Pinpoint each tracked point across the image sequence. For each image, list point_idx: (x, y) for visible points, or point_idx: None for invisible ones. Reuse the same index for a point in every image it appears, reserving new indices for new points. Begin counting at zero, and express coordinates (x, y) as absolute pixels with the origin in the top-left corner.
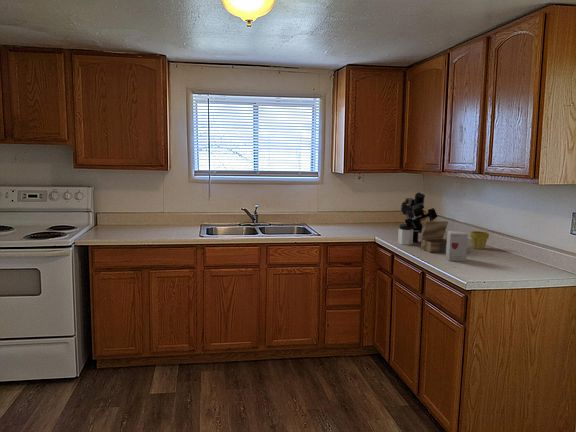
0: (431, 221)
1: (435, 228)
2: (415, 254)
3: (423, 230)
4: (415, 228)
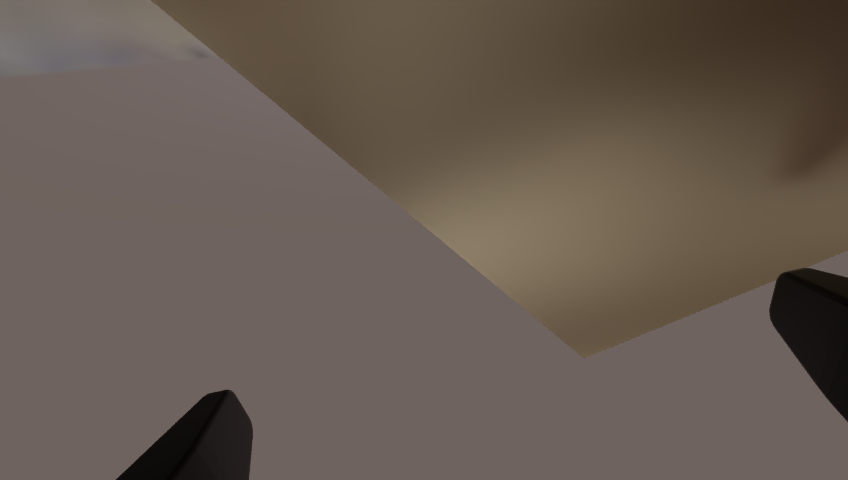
0: (725, 299)
1: (823, 9)
2: (188, 33)
3: (406, 207)
4: (166, 443)
